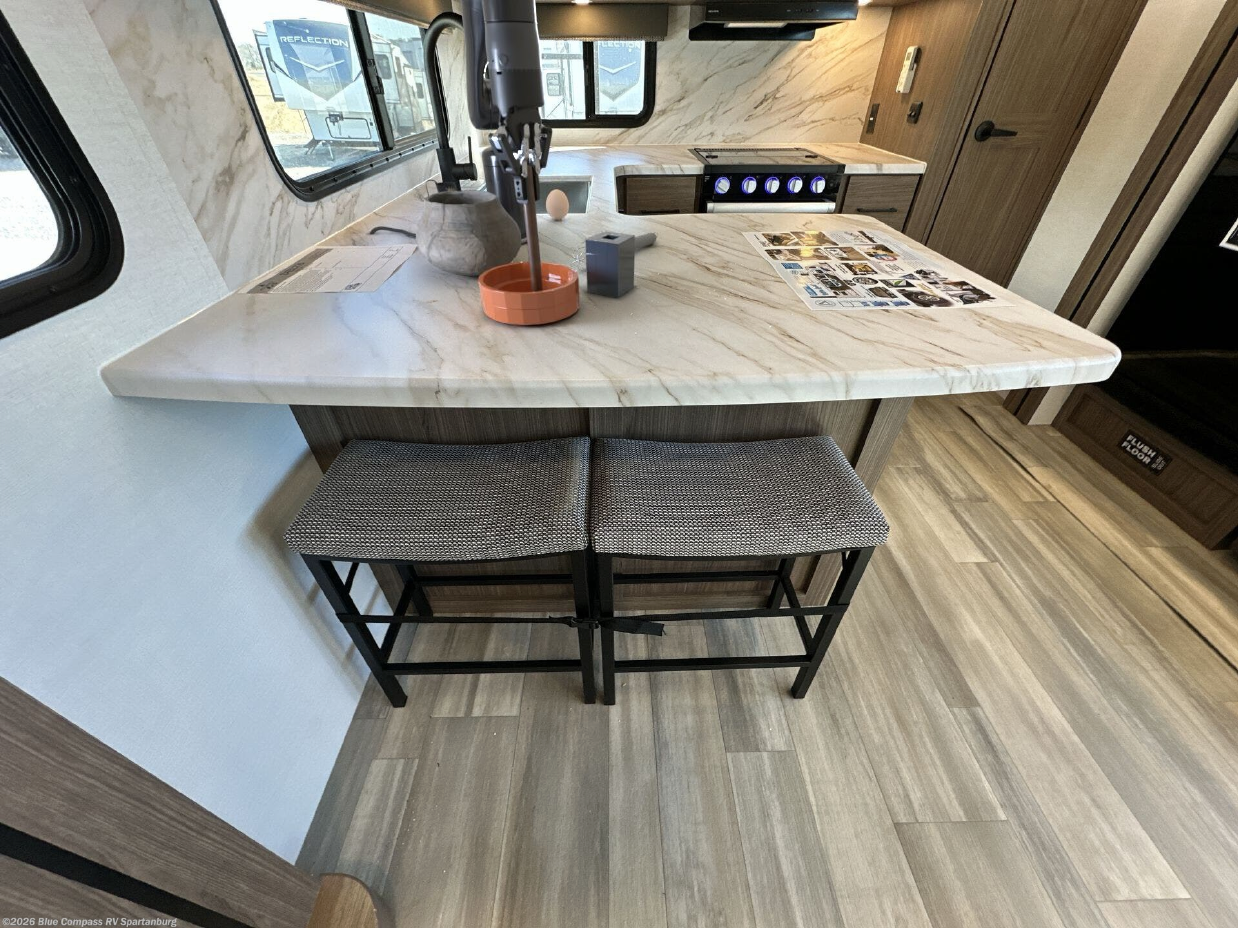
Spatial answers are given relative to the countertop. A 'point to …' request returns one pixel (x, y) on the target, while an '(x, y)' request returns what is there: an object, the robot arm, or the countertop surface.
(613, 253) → the block
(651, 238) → the kitchen whisk
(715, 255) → the countertop surface
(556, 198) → the egg
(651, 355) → the countertop surface
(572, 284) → the bowl
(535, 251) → the stirring stick
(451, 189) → the mug
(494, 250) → the clay pot
